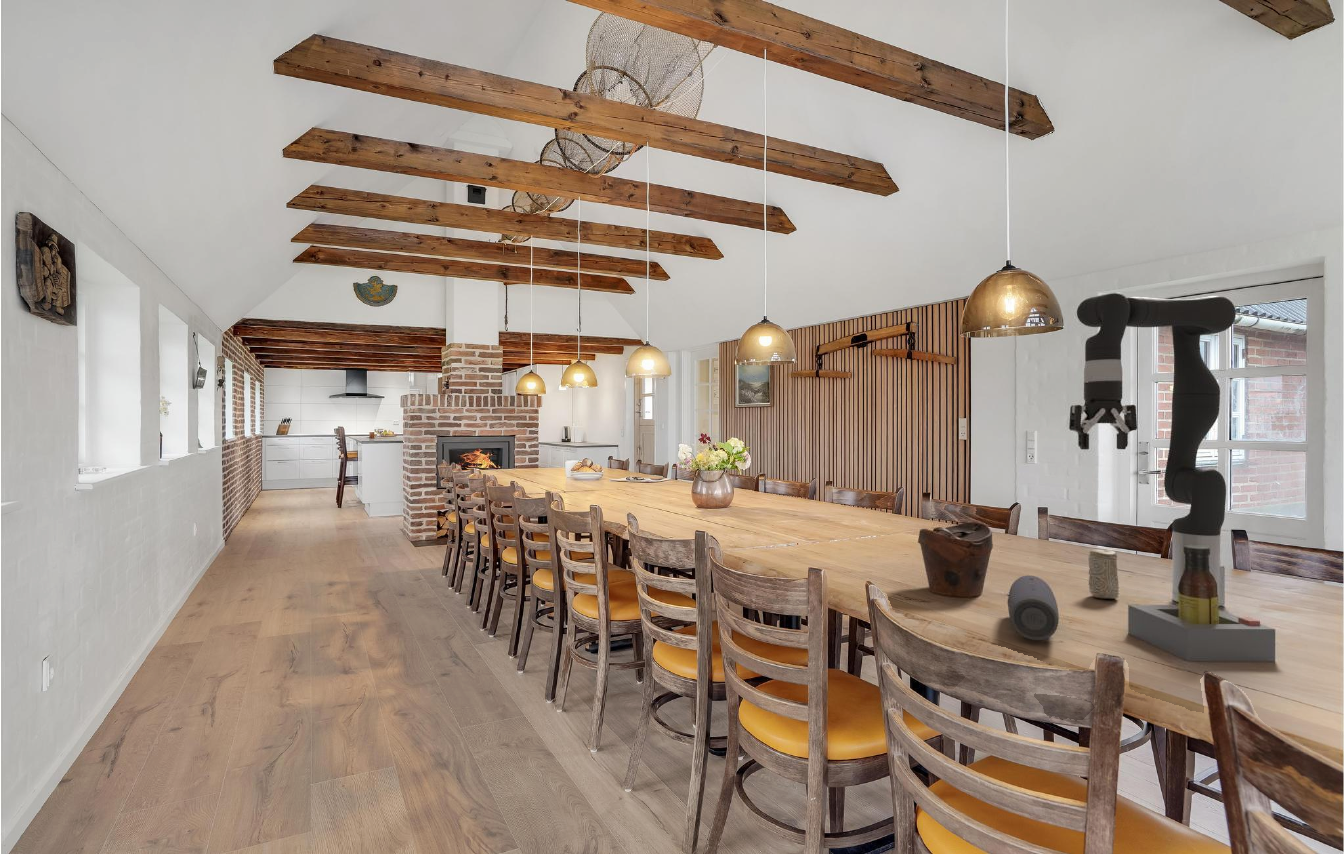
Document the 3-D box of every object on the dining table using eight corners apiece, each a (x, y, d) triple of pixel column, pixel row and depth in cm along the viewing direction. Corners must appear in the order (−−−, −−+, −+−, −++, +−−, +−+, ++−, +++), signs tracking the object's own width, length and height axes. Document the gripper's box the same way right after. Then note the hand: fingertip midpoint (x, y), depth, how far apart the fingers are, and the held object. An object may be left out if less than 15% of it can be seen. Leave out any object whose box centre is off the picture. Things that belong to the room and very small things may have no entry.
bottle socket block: (1205, 633, 136) (1205, 601, 136) (1275, 661, 120) (1275, 624, 120) (1128, 633, 136) (1128, 601, 136) (1187, 661, 120) (1187, 624, 120)
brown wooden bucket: (908, 594, 167) (909, 524, 167) (927, 579, 184) (928, 516, 183) (984, 606, 157) (985, 532, 157) (997, 589, 173) (998, 522, 173)
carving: (1110, 594, 167) (1110, 548, 167) (1125, 602, 160) (1125, 554, 159) (1083, 593, 168) (1083, 547, 168) (1096, 601, 161) (1096, 553, 161)
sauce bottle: (1204, 641, 131) (1205, 543, 131) (1227, 652, 125) (1228, 549, 124) (1169, 640, 131) (1170, 542, 131) (1191, 651, 125) (1192, 548, 125)
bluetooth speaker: (1007, 613, 150) (1007, 570, 150) (1054, 619, 146) (1054, 574, 146) (1007, 642, 130) (1007, 593, 130) (1061, 650, 126) (1061, 598, 126)
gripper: (1122, 381, 155) (1122, 448, 155) (1062, 381, 156) (1062, 448, 156) (1145, 379, 148) (1144, 450, 148) (1082, 379, 148) (1082, 450, 148)
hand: (1102, 449), depth 152 cm, fingers open, 8 cm apart
